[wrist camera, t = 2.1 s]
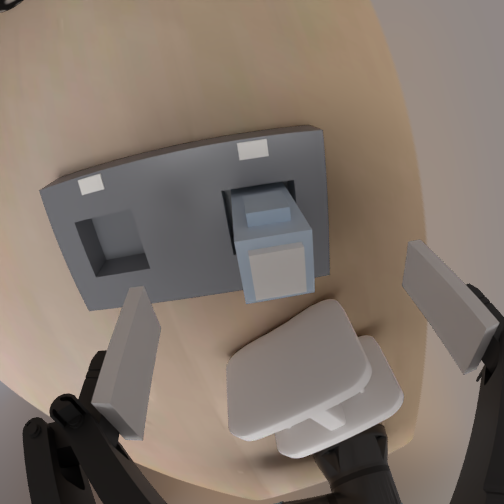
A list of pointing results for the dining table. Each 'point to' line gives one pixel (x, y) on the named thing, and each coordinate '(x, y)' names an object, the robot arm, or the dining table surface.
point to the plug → (271, 243)
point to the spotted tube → (8, 4)
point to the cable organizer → (310, 383)
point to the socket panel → (180, 213)
